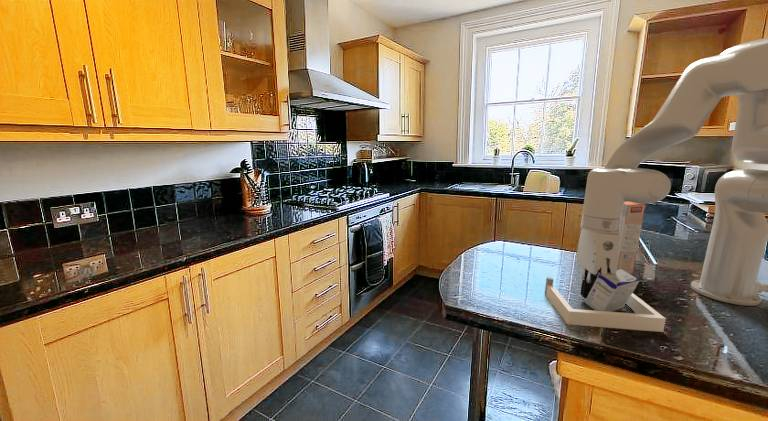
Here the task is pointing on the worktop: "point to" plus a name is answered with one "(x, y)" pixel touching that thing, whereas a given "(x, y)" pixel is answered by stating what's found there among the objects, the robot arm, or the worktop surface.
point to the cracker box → (629, 235)
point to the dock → (607, 313)
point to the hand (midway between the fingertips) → (588, 296)
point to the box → (611, 291)
